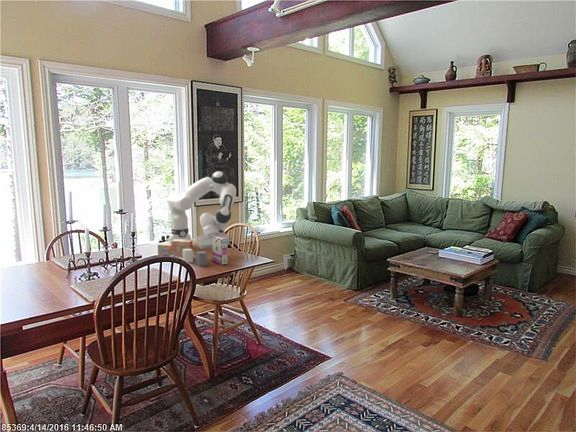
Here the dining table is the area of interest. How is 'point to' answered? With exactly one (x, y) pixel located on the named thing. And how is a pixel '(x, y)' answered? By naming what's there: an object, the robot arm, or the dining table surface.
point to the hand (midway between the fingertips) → (217, 251)
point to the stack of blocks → (174, 247)
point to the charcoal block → (201, 258)
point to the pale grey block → (187, 255)
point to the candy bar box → (220, 250)
